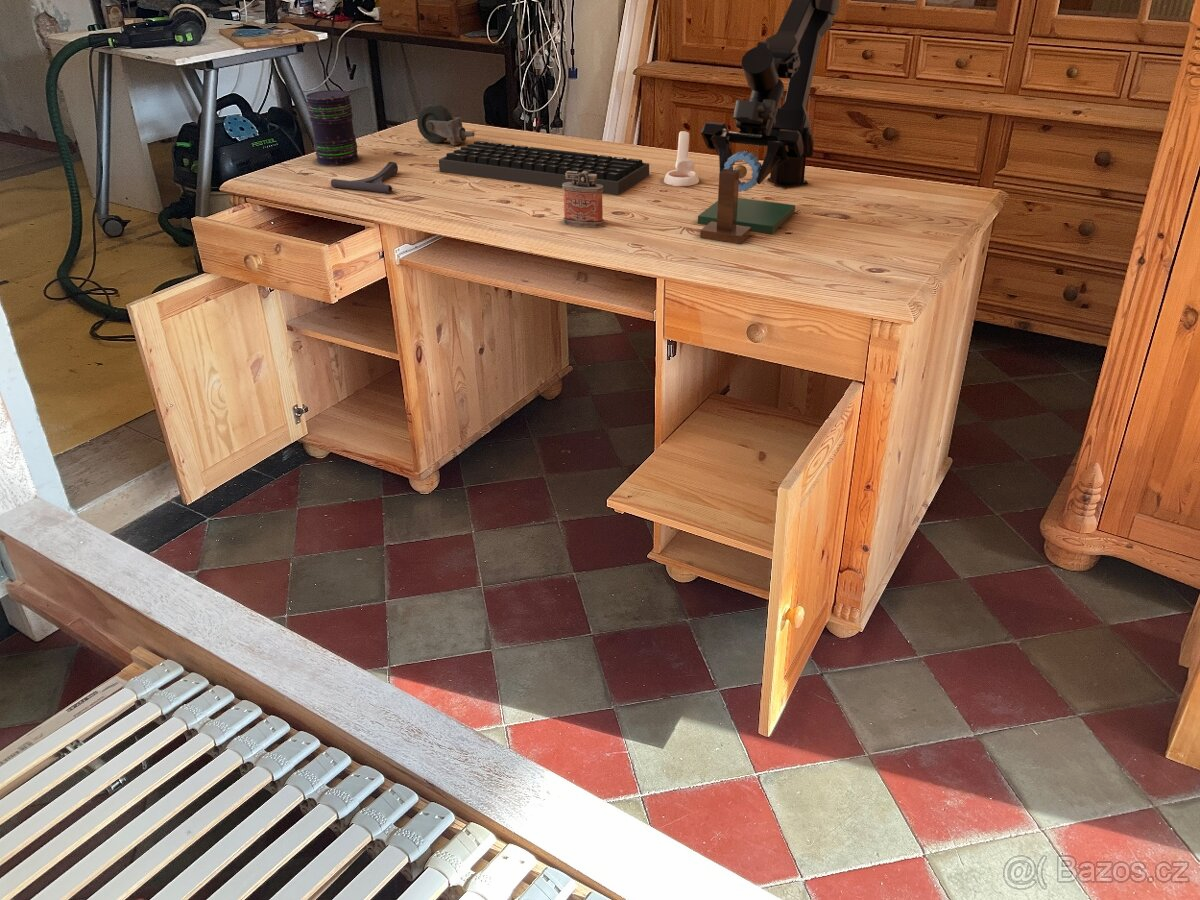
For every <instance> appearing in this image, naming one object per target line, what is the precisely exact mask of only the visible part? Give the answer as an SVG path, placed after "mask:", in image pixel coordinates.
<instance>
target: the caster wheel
mask: <svg viewBox="0 0 1200 900" xmlns="http://www.w3.org/2000/svg"><path fill="white" fill-rule="evenodd" d="M416 123H417V124H416V126H417V128H418V130H419V133H420V134H421V136H422V137H423V139H425V140H427V141H428V142H429V143H434V144H440V143H442V142H445V141H447V140H449V141H450V145H451V146H452V147H455V146H458V145H460V144H462V143H465V142H466V140H467V138H471V137H472V138H474V137H475V135H476V134H475V132H474V131H466V128H465V127H463V121H462V117H459V116H458V117H456V116H455V117H453V116H452V113H451V112H450V111H449V110H448V108H446V107H445V106H443V104H441V103H430V104H427V105H425V106H423V107H422V108H421V109H420V110H419V112H418V115H417V117H416Z"/></svg>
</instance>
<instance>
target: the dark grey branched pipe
mask: <svg viewBox="0 0 1200 900" xmlns="http://www.w3.org/2000/svg"><path fill="white" fill-rule="evenodd" d="M398 171H399V167H398V164H397V162H395V161H388V162H387V164H386V165H385V166H384V167H383V168H382V169H381V170H380V171H378V172H377V173H376V174H375V175H373V176H370V177H366V178H361V179H353V180H345V179H336V178H332V179H331V180H330V186H331V187H332V188H341V189H349V190H350V189H351V190H358V191H367V192H375V193H384V194H391V193H393V186H392V185H390V184H384V181H385V180H387V179H389V178H391V177H394V176H396V174H398Z"/></svg>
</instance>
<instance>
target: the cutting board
mask: <svg viewBox="0 0 1200 900" xmlns="http://www.w3.org/2000/svg"><path fill="white" fill-rule="evenodd" d="M717 210H718V200H716V201H715V202H714V203H713V204H711V205H710V206H708V207H707V208H706V209H704V211H702V212H701V213H700V214H699V215H697V224H701V225H705V226H706V225H707V224H709V223H710V222H711V221H712V222H717ZM795 212H796V205H795V204H791V203H790V204H789V203H783V202H782V203H781V202H773V201H767V200H758V199H751V198H743V197H738V206H737V223H736V225H740V226H747V227H751V232H756V233H763V234H770V235H773V234H774V233H776V231H778V229H779V228H780V227H781V226H782V225H783V224H784V223H785V222H786V221H787V220H789V219H790V218H791V217H792V216H793V215H794V214H795Z"/></svg>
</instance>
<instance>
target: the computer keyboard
mask: <svg viewBox="0 0 1200 900" xmlns="http://www.w3.org/2000/svg"><path fill="white" fill-rule="evenodd" d="M438 169H439V172H441V173H448V174H456V175H463V176H472V177H480V178H486V179H493V180H501V181H502V180H503V181H509V182H516V183H522V184H523V183H524V184H532V185H539V186H546V187H553V188H561V189H563V188H562V184H563V183H565V182H572V180H573V179H566V175H565V173H566V172H567V171H575V172H578V173H582V172H583V171H588V173H589V174H597V180H596V184H600V185H603V191H602V194H607V195H613V196H614V195H615V196H620V195H621V194H622V193H625V192H626V191H628V190H629V189H631V188H633V186H635V185H637V184H639V183H640V182H642V181H643V180H645V179H646V178H648V177H649V176H650V163H648V162H643V159H639V158H638V159H637V158H628V159H627V157H621V156H614V157H613V156H612V155H605V154H603V155H602V154H599V155H598V154H595V153H587V152H580V151H579V152H577V151H569V150H560V149H552V148H545V147H544V148H543V147H534V146H530V147H529V146H527V145H516V144H508V143H500V142H492V141H491V142H489V141H482V140H476V141H473V143H468V144H467V145H466V146H462V147H460V149H454V150H453V152H447V153H446V155H445V156H444V157H441V158H439V159H438ZM576 182H578V180H576Z"/></svg>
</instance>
